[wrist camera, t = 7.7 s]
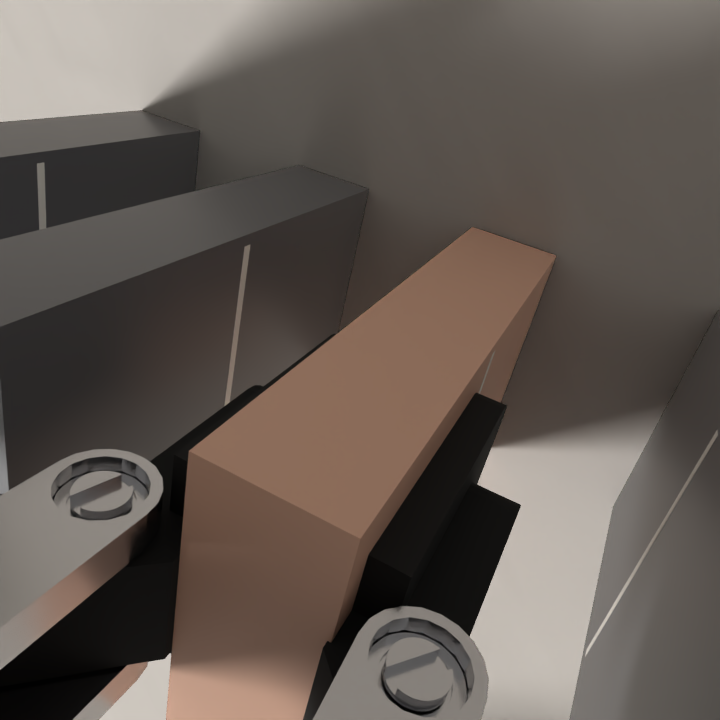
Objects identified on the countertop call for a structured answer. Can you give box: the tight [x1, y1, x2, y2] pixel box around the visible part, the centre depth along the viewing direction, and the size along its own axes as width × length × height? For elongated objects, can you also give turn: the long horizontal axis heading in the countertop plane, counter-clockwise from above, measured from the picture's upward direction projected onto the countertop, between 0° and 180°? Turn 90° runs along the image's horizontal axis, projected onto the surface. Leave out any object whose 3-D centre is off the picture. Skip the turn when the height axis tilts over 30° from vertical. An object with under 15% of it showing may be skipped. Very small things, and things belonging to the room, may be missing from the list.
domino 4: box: [569, 310, 720, 720], centre depth 9 cm, size 2×5×9 cm, turn 167°
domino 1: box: [0, 110, 200, 240], centre depth 13 cm, size 2×5×9 cm, turn 167°
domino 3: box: [166, 227, 556, 720], centre depth 11 cm, size 2×5×9 cm, turn 167°
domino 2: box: [0, 165, 369, 494], centre depth 12 cm, size 2×5×9 cm, turn 167°
